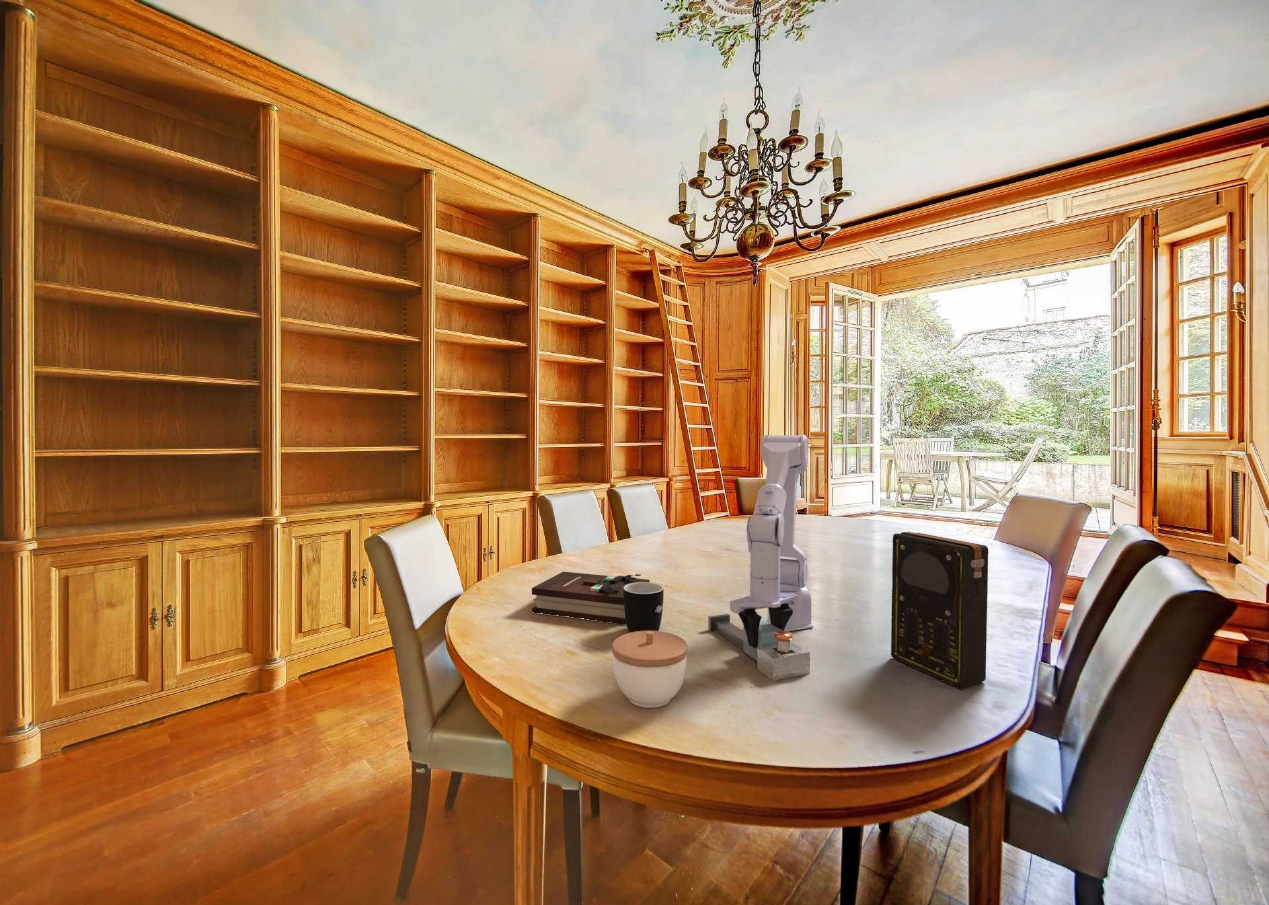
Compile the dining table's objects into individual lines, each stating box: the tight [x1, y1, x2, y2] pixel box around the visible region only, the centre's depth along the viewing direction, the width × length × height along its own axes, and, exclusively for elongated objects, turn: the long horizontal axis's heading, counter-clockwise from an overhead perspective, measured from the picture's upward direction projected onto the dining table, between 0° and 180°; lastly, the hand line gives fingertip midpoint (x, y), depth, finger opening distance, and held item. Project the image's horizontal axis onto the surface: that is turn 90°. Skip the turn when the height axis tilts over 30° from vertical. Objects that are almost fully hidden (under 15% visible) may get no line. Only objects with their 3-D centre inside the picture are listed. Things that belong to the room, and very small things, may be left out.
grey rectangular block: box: [756, 641, 811, 681], centre depth 99 cm, size 8×5×4 cm, turn 111°
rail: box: [707, 613, 744, 651], centre depth 112 cm, size 5×22×3 cm, turn 21°
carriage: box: [743, 620, 782, 661], centre depth 106 cm, size 5×6×6 cm
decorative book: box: [531, 571, 651, 626], centre depth 136 cm, size 19×8×30 cm
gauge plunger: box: [775, 631, 794, 655], centre depth 99 cm, size 3×3×5 cm
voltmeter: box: [890, 531, 989, 690], centre depth 100 cm, size 16×9×25 cm, turn 23°
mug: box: [623, 582, 664, 633], centre depth 121 cm, size 12×9×10 cm
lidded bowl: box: [611, 630, 689, 709], centre depth 90 cm, size 13×13×11 cm
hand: (764, 644), depth 105 cm, fingers closed on carriage, 5 cm apart
